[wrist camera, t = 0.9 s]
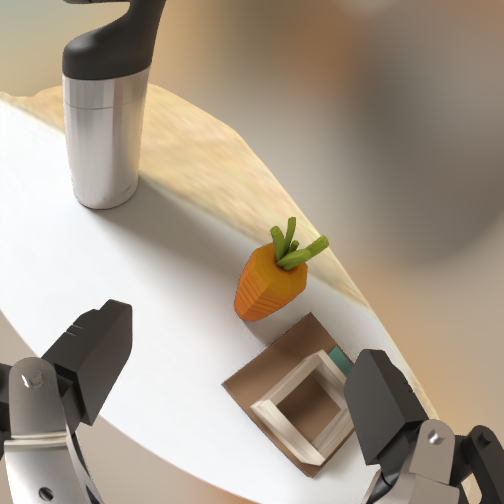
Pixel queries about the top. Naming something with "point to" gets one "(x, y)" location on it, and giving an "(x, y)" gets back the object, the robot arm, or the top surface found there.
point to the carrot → (274, 274)
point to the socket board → (298, 394)
